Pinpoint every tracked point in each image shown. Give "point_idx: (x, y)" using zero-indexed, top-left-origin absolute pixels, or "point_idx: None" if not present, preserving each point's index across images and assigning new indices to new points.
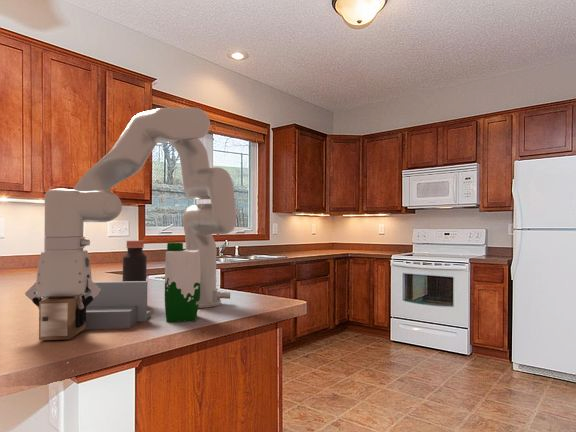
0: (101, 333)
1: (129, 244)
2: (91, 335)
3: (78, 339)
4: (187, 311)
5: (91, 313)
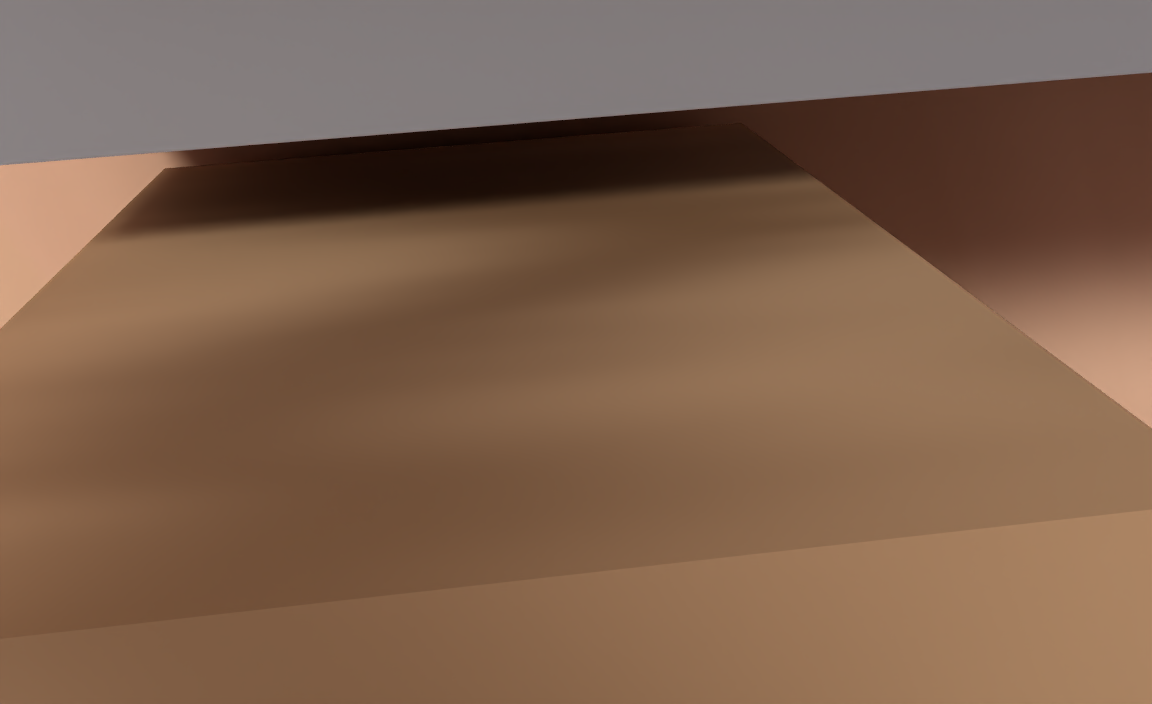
0: (1075, 339)
1: None
2: None
3: None
4: None
5: (951, 75)
